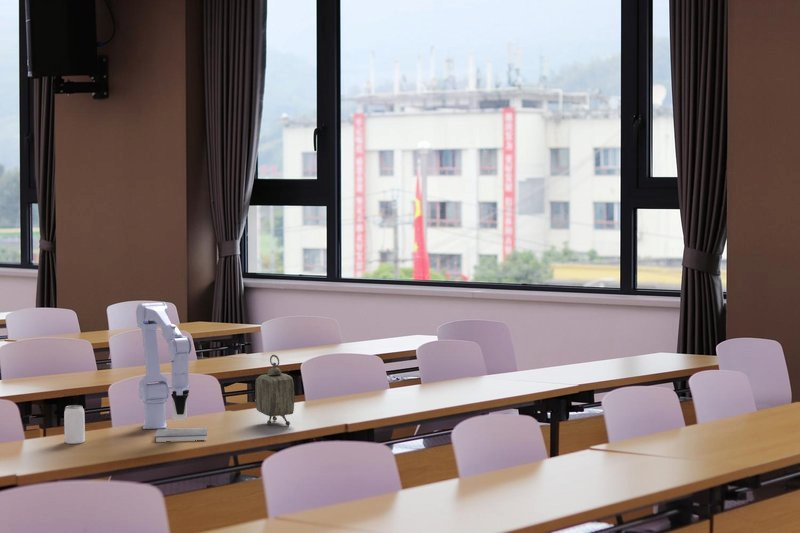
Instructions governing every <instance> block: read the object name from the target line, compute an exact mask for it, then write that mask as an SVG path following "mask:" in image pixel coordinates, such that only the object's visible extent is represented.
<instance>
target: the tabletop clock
mask: <svg viewBox="0 0 800 533" xmlns="http://www.w3.org/2000/svg"><path fill="white" fill-rule="evenodd" d="M273 357H274V358H276V360H277V363H276V362H272V359H273ZM269 362H270V365H271V366H272V367H270V368H269V369H268V371H267V374H261V375H259V376H257V378H255V384H254V386H255V388H254V392H255V393H254V397H255V399H254V400H255V408H256V411H257V412H259V413H261V414H263V415H266V416H267V417H268V418H269V419H268V420H267V422H266V424H267V425H268V426H271V425H272V424H273V423H272V421H274V422H275V421H277V420H278V418H277V417H279V416H280V417H281V418H283V420H284V422H285V423H284V424H285V426H288V427H289V426H290V425H291V423H290V421H288V420H287V418H286V416H288V415H290V416H291V415H293V414H294V411H295V383H294V379H293V377H292V376H291V375H288V374H287V373H282V370H281V369H280V368H279V366H280V359H279V356H277V355H276V354H271V356H270V358H269Z"/></svg>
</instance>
